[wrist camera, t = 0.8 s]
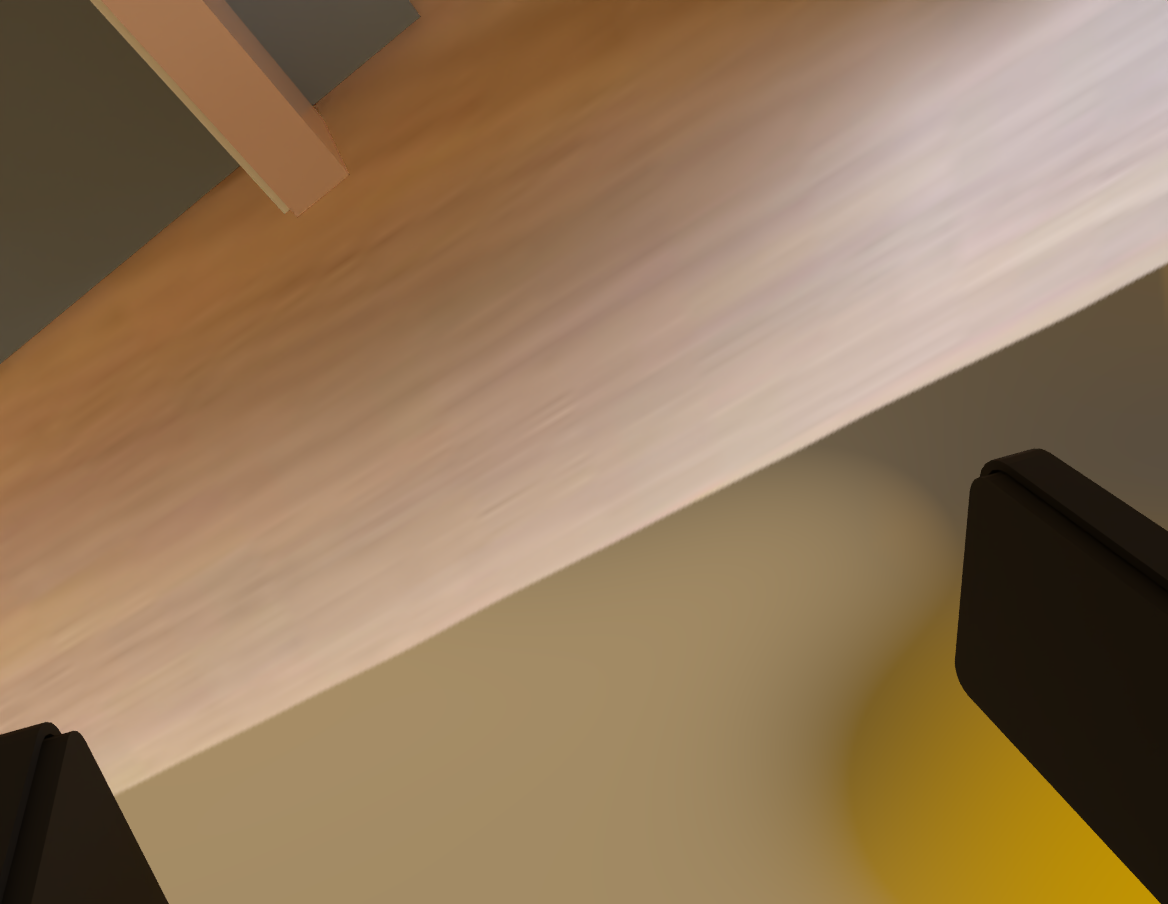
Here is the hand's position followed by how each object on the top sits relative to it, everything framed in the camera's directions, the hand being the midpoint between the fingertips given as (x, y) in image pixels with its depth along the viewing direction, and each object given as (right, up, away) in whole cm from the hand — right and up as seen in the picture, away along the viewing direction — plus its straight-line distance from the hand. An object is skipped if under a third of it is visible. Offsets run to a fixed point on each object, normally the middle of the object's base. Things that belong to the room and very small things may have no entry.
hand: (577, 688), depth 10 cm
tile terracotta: (-10, +14, +18) cm, 25 cm away
